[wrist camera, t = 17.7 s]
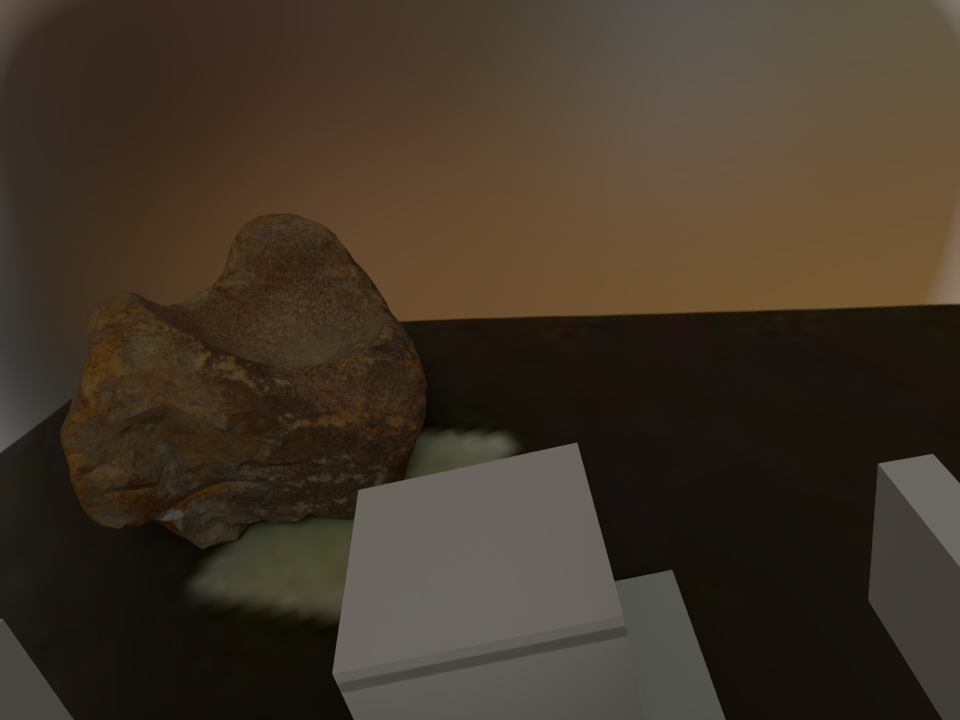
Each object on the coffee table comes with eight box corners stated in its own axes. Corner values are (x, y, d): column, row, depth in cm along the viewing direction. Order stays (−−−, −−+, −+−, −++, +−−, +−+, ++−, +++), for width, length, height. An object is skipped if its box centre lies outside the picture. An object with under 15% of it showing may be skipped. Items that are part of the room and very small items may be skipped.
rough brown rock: (367, 652, 37) (286, 377, 30) (87, 605, 42) (-38, 363, 35) (502, 389, 56) (473, 183, 49) (297, 380, 61) (243, 193, 54)
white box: (666, 830, 26) (623, 615, 21) (427, 873, 26) (332, 673, 22) (617, 637, 33) (577, 442, 28) (429, 674, 33) (358, 489, 29)
